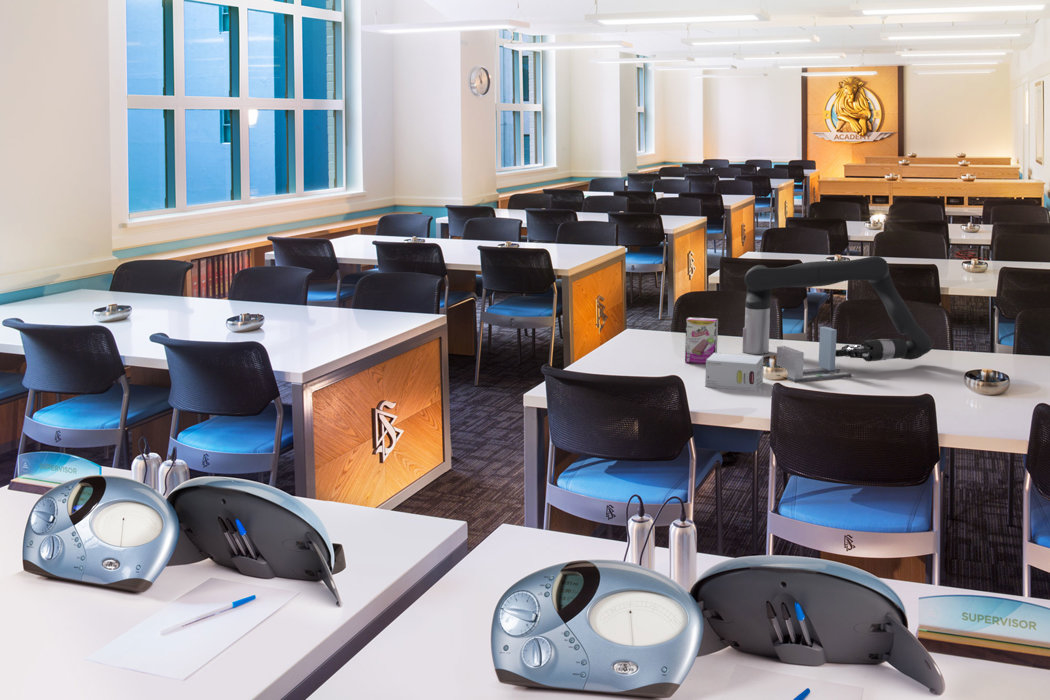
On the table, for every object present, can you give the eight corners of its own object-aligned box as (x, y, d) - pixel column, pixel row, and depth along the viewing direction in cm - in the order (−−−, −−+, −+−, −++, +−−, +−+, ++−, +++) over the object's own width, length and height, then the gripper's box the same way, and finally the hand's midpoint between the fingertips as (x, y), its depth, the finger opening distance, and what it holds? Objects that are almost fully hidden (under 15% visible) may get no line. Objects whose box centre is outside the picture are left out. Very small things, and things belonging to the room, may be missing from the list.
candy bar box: (684, 363, 374) (685, 319, 371) (687, 360, 379) (687, 317, 375) (715, 365, 370) (716, 320, 367) (717, 362, 375) (718, 318, 372)
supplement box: (704, 387, 338) (705, 359, 336) (713, 378, 350) (713, 352, 348) (756, 391, 332) (756, 363, 330) (763, 382, 343) (763, 355, 342)
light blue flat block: (823, 366, 357) (825, 326, 354) (840, 373, 347) (842, 331, 344) (818, 367, 356) (820, 326, 354) (835, 373, 346) (837, 331, 344)
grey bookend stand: (831, 369, 359) (832, 342, 357) (851, 377, 348) (852, 348, 346) (776, 374, 353) (777, 346, 351) (794, 382, 342) (795, 353, 340)
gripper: (867, 336, 364) (824, 339, 359) (890, 342, 351) (846, 346, 346) (865, 356, 365) (823, 360, 360) (889, 364, 353) (845, 367, 348)
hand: (835, 353), depth 353 cm, fingers closed
